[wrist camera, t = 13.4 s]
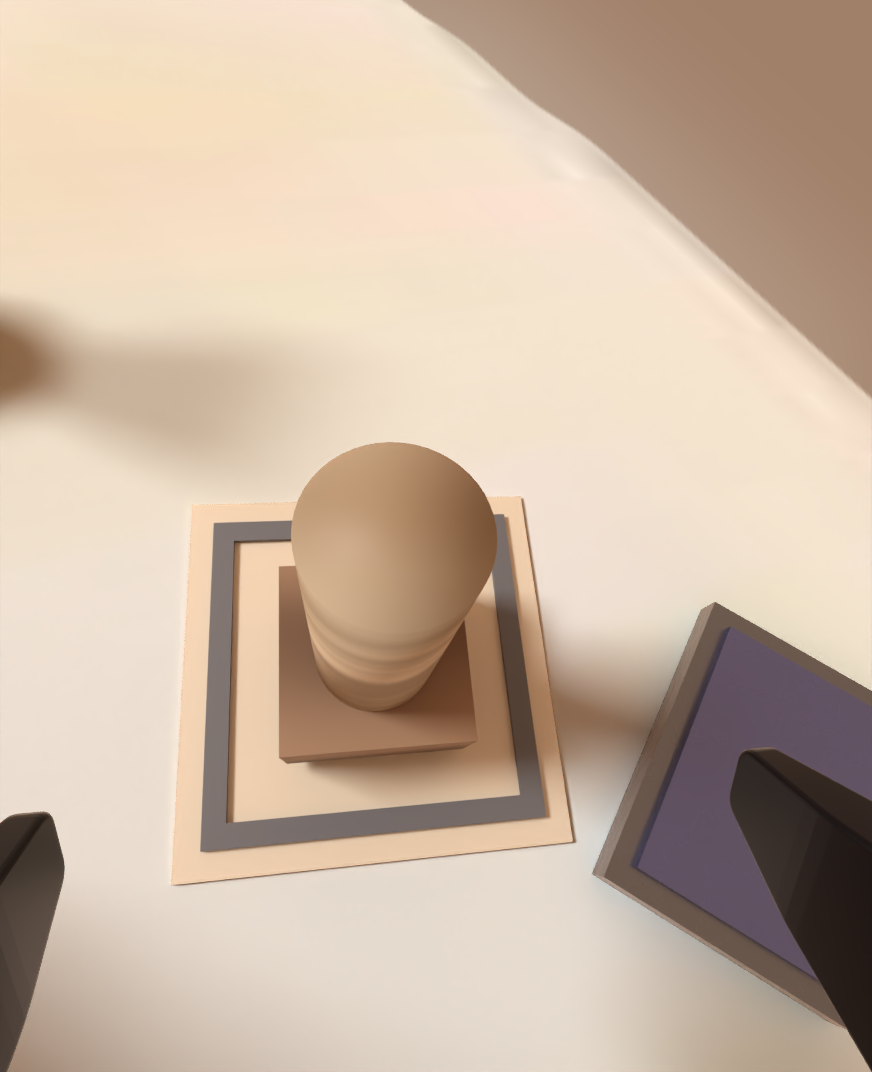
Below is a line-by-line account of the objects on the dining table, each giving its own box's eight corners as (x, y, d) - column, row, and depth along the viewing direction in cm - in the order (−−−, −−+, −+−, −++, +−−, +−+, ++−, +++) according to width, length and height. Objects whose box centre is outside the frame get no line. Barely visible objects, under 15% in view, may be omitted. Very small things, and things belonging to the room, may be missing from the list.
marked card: (571, 841, 21) (574, 842, 20) (172, 884, 19) (169, 886, 19) (519, 497, 25) (521, 494, 25) (192, 506, 23) (190, 502, 23)
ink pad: (827, 1021, 20) (859, 1035, 18) (592, 873, 20) (607, 877, 19) (901, 724, 24) (930, 719, 22) (700, 609, 24) (719, 599, 23)
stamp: (459, 750, 21) (580, 686, 10) (288, 765, 20) (220, 712, 9) (443, 590, 23) (531, 393, 12) (287, 598, 22) (231, 394, 11)
